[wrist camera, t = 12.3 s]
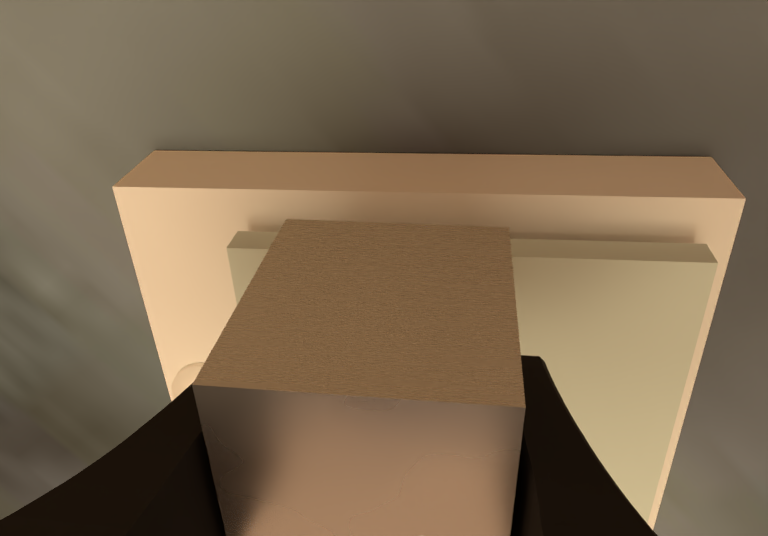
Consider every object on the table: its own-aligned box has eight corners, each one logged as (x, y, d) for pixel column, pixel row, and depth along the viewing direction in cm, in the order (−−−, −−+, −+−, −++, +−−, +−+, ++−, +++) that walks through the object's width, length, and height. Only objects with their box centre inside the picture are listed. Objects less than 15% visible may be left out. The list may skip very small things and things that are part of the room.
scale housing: (711, 156, 20) (752, 206, 17) (627, 503, 28) (645, 578, 25) (154, 150, 22) (104, 193, 19) (229, 473, 30) (202, 539, 27)
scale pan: (706, 243, 17) (718, 262, 16) (624, 565, 25) (629, 590, 24) (237, 231, 19) (226, 247, 18) (290, 536, 26) (284, 558, 25)
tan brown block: (508, 226, 12) (525, 407, 8) (494, 400, 15) (500, 612, 10) (286, 219, 13) (191, 384, 9) (304, 387, 15) (237, 584, 11)
